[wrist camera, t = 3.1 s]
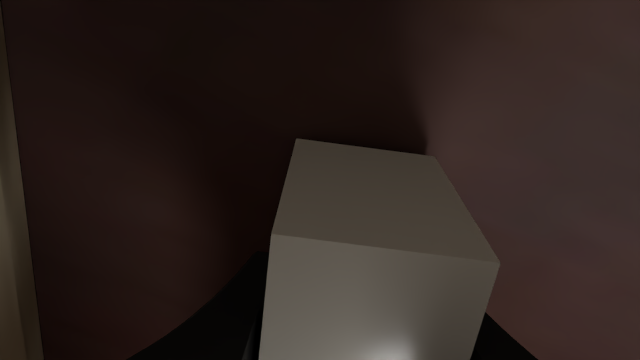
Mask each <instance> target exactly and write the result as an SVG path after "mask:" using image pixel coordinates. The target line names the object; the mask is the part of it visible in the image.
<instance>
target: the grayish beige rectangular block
mask: <svg viewBox="0 0 640 360" xmlns="http://www.w3.org/2000/svg"><path fill="white" fill-rule="evenodd" d="M499 266H500V261H499V260H498V258H497V256H496V255H495V253H494V252H493V250H492V248H491V247H490V245H489V244H488V242H487V240H486V239H485V237H484V235H483V234H482V232H481V231H480V229H479V227H478V226H477V224H476V223H475V221H474V219H473V218H472V216H471V215H470V213H469V211H468V210H467V208H466V206H465V205H464V203H463V202H462V200H461V198H460V197H459V195H458V194H457V192H456V190H455V189H454V187H453V186H452V184H451V182H450V181H449V179H448V177H447V176H446V174H445V173H444V171H443V169H442V168H441V166H440V165H439V163H438V161H437V160H436V158H435V156H427V155H419V154H412V153H404V152H396V151H389V150H381V149H373V148H366V147H358V146H350V145H343V144H335V143H327V142H320V141H312V140H305V139H297V138H296V141H295V145H294V149H293V153H292V157H291V160H290V164H289V168H288V172H287V176H286V179H285V183H284V187H283V191H282V195H281V199H280V202H279V206H278V210H277V214H276V218H275V221H274V225H273V229H272V233H271V241H270V251H269V261H268V271H267V281H266V291H265V301H264V311H263V321H262V331H261V341H260V351H259V360H470V358H471V355H472V352H473V348H474V345H475V342H476V339H477V336H478V333H479V329H480V326H481V323H482V320H483V317H484V314H485V310H486V307H487V304H488V301H489V298H490V295H491V291H492V288H493V285H494V282H495V279H496V276H497V272H498V269H499Z"/></svg>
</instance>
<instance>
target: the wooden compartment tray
mask: <svg viewBox="0 0 640 360" xmlns="http://www.w3.org/2000/svg"><path fill="white" fill-rule="evenodd" d="M0 360H44V356H43V348H42V340H41V332H40V323H39V315H38V307H37V299H36V291H35V282H34V274H33V266H32V258H31V249H30V241H29V233H28V225H27V216H26V208H25V200H24V192H23V184H22V175H21V167H20V159H19V151H18V142H17V134H16V126H15V118H14V110H13V101H12V93H11V85H10V77H9V68H8V60H7V52H6V44H5V36H4V27H3V19H2V11H1V3H0Z"/></svg>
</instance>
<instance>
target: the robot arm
mask: <svg viewBox="0 0 640 360" xmlns="http://www.w3.org/2000/svg"><path fill="white" fill-rule="evenodd" d="M268 261H269V253H267V252H259V251H257V252H256V253H254V254H253V255H252V256H251V258H250V259H249V260H248V261H247V263H246V264H245V265H244V266H243V267H242V269H241V270H240V271H239V272H238V273H237V274H236V275H235V276H234V277H233V278H232V279H231V280H230V281H229V282H228V283H227V284H226V285H225V286H224V287H223V288H222V290H221V291H220V292H219V293H217V294H216V295H215V296H214V297H213V298H212V299H211V300H210V301H209V302H208V303H206V304H205V305H204V306H203V307H202V308H201V309H199V310H198V311H197V312H196V313H195V314H194V315H192V316H191V317H190V318H189V319H187V320H186V321H185V322H184V323H182V324H181V325H180V326H178V327H177V328H176V329H174V330H173V331H171V332H170V333H169V334H167V335H166V336H164V337H163V338H161V339H160V340H158V341H157V342H155V343H154V344H152V345H150V346H149V347H147V348H145V349H144V350H142V351H140V352H138V353H137V354H135V355H133V356H132V357H130V358H128V359H127V360H259V351H260V341H261V331H262V321H263V311H264V301H265V291H266V281H267V271H268ZM470 360H538V359H536V358H535V357H534V356H533V355H532V354H531V353H529V352H528V351H527V350H526V349H525V348H524V347H523V346H521V345H520V344H519V343H518V342H517V341H516V340H514V339H513V338H512V337H511V336H510V335H509V334H508V333H507V332H506V331H505V330H503V329H502V328H501V327H500V326H499V325H498V324H497V323H496V322H495V321H494V320H493V319H492V318H491V317H490V316H489V315H488V314H487V313H486V312H485V314H484V317H483V320H482V323H481V326H480V329H479V333H478V336H477V339H476V342H475V345H474V348H473V352H472V355H471V358H470Z"/></svg>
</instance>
